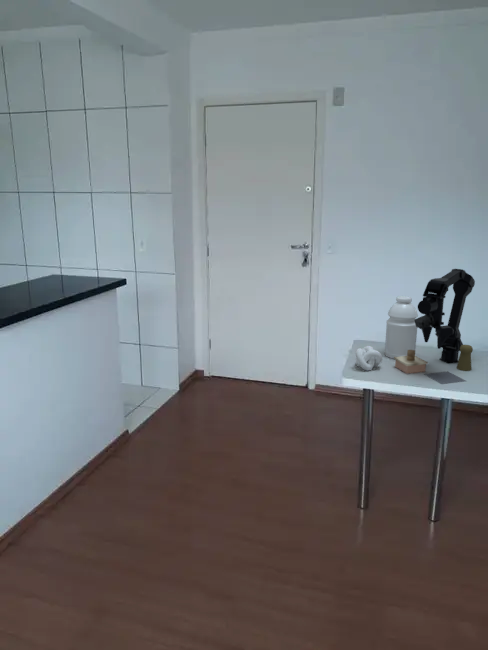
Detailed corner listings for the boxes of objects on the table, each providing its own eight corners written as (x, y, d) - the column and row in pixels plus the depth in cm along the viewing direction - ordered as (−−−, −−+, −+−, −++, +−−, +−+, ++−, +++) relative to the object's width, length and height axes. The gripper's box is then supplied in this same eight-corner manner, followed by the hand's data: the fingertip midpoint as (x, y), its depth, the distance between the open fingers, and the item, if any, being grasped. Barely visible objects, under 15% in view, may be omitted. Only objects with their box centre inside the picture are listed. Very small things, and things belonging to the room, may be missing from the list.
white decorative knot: (370, 374, 221) (372, 354, 219) (346, 368, 229) (347, 348, 227) (384, 368, 229) (385, 348, 226) (360, 362, 237) (361, 343, 234)
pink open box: (412, 365, 231) (413, 357, 230) (425, 372, 223) (425, 363, 222) (395, 367, 229) (395, 359, 228) (406, 374, 221) (407, 365, 220)
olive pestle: (464, 372, 223) (467, 348, 220) (453, 368, 228) (455, 344, 225) (474, 370, 225) (477, 346, 223) (463, 366, 231) (465, 342, 228)
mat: (447, 372, 223) (447, 371, 223) (466, 382, 212) (466, 381, 212) (423, 375, 220) (423, 374, 220) (441, 385, 209) (441, 384, 209)
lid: (413, 356, 231) (414, 346, 230) (427, 363, 222) (428, 353, 220) (393, 358, 228) (394, 348, 227) (406, 366, 219) (407, 355, 218)
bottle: (378, 353, 248) (381, 296, 241) (399, 349, 255) (404, 293, 247) (399, 362, 236) (404, 301, 229) (421, 357, 243) (426, 298, 235)
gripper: (406, 306, 224) (403, 340, 229) (431, 316, 207) (428, 353, 211) (429, 304, 227) (426, 338, 231) (456, 314, 210) (452, 351, 214)
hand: (432, 345), depth 222 cm, fingers open, 9 cm apart
